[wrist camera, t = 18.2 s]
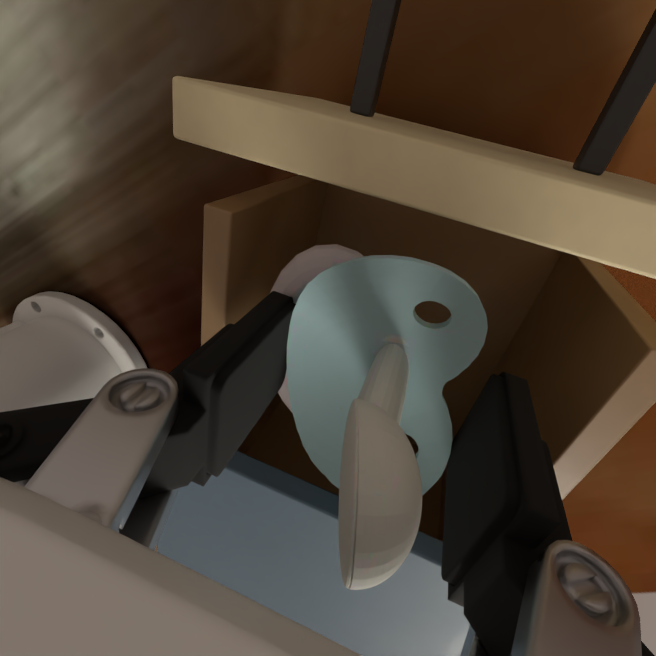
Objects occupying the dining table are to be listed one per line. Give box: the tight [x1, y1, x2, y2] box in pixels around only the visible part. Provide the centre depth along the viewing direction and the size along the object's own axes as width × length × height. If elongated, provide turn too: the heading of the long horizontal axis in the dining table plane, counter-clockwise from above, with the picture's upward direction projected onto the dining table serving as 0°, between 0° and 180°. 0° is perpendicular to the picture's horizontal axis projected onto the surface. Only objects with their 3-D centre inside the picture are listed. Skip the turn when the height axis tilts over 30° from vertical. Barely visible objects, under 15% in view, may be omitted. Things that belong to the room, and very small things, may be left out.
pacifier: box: [270, 244, 488, 590], centre depth 8 cm, size 7×6×6 cm
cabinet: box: [157, 451, 470, 656], centre depth 20 cm, size 17×14×11 cm
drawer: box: [172, 0, 656, 541], centre depth 13 cm, size 20×12×9 cm, turn 168°
